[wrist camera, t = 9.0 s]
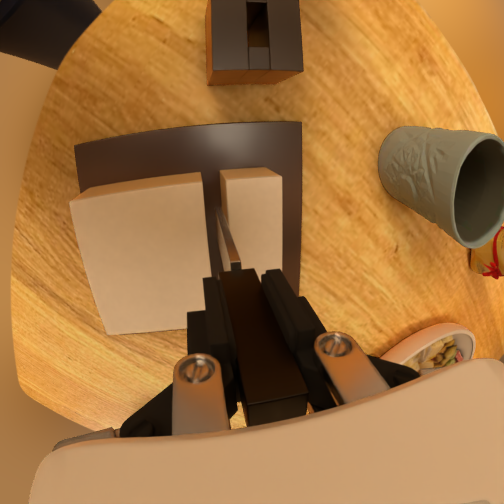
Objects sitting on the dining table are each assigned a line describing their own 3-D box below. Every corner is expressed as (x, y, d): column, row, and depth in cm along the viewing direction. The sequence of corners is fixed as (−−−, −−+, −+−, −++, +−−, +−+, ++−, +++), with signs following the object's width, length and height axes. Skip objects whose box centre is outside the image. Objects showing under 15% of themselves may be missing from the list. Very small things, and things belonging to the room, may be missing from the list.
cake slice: (219, 170, 24) (225, 180, 20) (265, 166, 25) (282, 176, 20) (228, 292, 29) (236, 322, 25) (267, 287, 30) (281, 315, 25)
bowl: (299, 428, 45) (313, 463, 38) (409, 294, 36) (444, 326, 29) (395, 424, 55) (409, 447, 48) (477, 328, 47) (499, 349, 40)
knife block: (205, 16, 19) (210, -17, 13) (272, 17, 20) (298, -12, 14) (207, 86, 22) (212, 70, 16) (275, 84, 23) (304, 71, 17)
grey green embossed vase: (444, 144, 28) (522, 165, 17) (418, 218, 32) (490, 260, 21) (386, 104, 25) (475, 109, 14) (357, 192, 29) (436, 233, 18)
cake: (89, 187, 22) (68, 202, 18) (200, 171, 24) (202, 182, 19) (116, 304, 27) (106, 335, 23) (212, 294, 29) (217, 325, 24)
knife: (206, 207, 21) (245, 395, 6) (229, 205, 21) (311, 382, 6) (209, 241, 22) (250, 445, 7) (231, 239, 22) (303, 434, 7)
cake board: (77, 144, 21) (73, 145, 20) (298, 121, 25) (301, 121, 24) (119, 329, 30) (118, 335, 29) (295, 308, 33) (297, 313, 32)
